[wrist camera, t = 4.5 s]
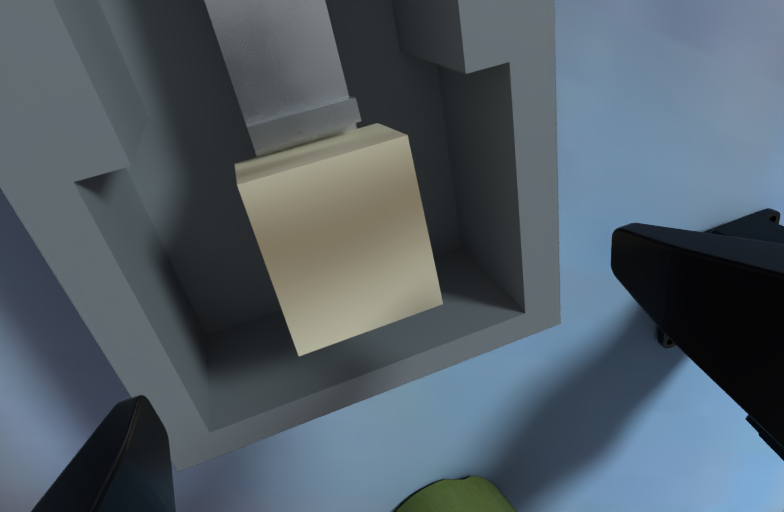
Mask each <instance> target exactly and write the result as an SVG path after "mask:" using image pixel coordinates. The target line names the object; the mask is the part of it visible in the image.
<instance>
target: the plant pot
mask: <svg viewBox="0 0 784 512" xmlns="http://www.w3.org/2000/svg"><path fill="white" fill-rule="evenodd" d="M396 512H517V511H516V509H515V508H514V507H513V506H512V505H511V504H510V502H509V501H508V500H507V499H506V498H505V497H504V495H503V494H502V493H501V492H500V491H499V490H498V488H497V487H496V486H495V485H494V484H493V483H491V482H490V481H488V480H486V479H484V478H482V477H478V476H470V477H468V478H466V479H462V480H452V479H445V480H441V481H438V482H436V483H434V484H431V485H429V486H428V487H426V488H424V489H422V490H420V491H419V492H417V493H416V494H414V495H413V496H412V497H411V498H409V499H408V500H407V501H406V502H405V503H404V504H403V505H402V506H401V507H400V508H399V509H398V510H397V511H396Z"/></svg>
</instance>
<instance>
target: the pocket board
mask: <svg viewBox="0 0 784 512" xmlns="http://www.w3.org/2000/svg"><path fill="white" fill-rule="evenodd" d="M325 2H326V6H327V10H328V14H329V18H330V22H331V26H332V30H333V34H334V38H335V42H336V46H337V50H338V54H339V58H340V62H341V66H342V70H343V74H344V78H345V82H346V86H347V90H348V94H349V96H352V97H355V98H356V101H357V105H358V109H359V113H360V117H361V121H360V122H357V123H356V126H357V129H358V128H362V127H365V126H369V125H372V124H376V123H379V124H381V125H384V126H386V127H389V128H391V129H394V130H396V131H399V132H401V133H403V134H406V135H408V140H409V144H410V149H411V154H412V159H413V163H414V168H415V173H416V178H417V182H418V187H419V192H420V197H421V201H422V206H423V211H424V216H425V220H426V225H427V230H428V235H429V239H430V244H431V249H432V253H433V258H434V263H435V268H436V272H437V277H438V282H439V287H440V291H441V296H442V301H443V304H442V305H440V306H437V307H434V308H431V309H428V310H426V311H423V312H420V313H417V314H415V315H412V316H409V317H406V318H404V319H401V320H398V321H395V322H393V323H390V324H387V325H384V326H382V327H379V328H376V329H373V330H371V331H368V332H365V333H362V334H360V335H357V336H354V337H351V338H349V339H346V340H343V341H340V342H337V343H335V344H332V345H329V346H326V347H324V348H321V349H318V350H315V351H313V352H310V353H307V354H304V355H302V356H298V353H297V350H296V347H295V345H294V342H293V339H292V336H291V333H290V331H289V328H288V325H287V322H286V320H285V317H284V314H283V311H282V308H281V306H280V303H279V300H278V297H277V295H276V292H275V289H274V286H273V284H272V281H271V278H270V275H269V272H268V270H267V267H266V264H265V261H264V259H263V256H262V253H261V250H260V247H259V245H258V242H257V239H256V236H255V234H254V231H253V228H252V225H251V222H250V220H249V217H248V214H247V211H246V209H245V206H244V203H243V200H242V197H241V195H240V192H239V189H238V186H237V180H236V171H235V164H236V163H239V162H243V161H246V160H250V159H253V158H257V156H256V153H255V150H254V147H253V144H252V141H251V138H250V135H249V132H248V129H247V126H246V123H245V120H244V117H243V114H242V111H241V108H240V105H239V102H238V99H237V96H236V93H235V90H234V87H233V84H232V82H231V79H230V76H229V73H228V70H227V67H226V64H225V61H224V58H223V55H222V52H221V49H220V46H219V43H218V40H217V37H216V34H215V31H214V28H213V25H212V22H211V19H210V16H209V13H208V10H207V7H206V4H205V1H204V0H0V188H1V190H2V191H3V193H4V195H5V196H6V198H7V199H8V201H9V203H10V204H11V206H12V207H13V209H14V211H15V212H16V214H17V215H18V217H19V219H20V220H21V222H22V223H23V225H24V227H25V228H26V230H27V231H28V233H29V235H30V236H31V238H32V239H33V241H34V243H35V244H36V246H37V247H38V249H39V251H40V252H41V254H42V255H43V257H44V259H45V260H46V262H47V263H48V265H49V267H50V268H51V270H52V271H53V273H54V275H55V276H56V278H57V279H58V281H59V283H60V284H61V286H62V287H63V289H64V290H65V292H66V294H67V295H68V297H69V298H70V300H71V302H72V303H73V305H74V306H75V308H76V310H77V311H78V313H79V314H80V316H81V318H82V319H83V321H84V322H85V324H86V326H87V327H88V329H89V330H90V332H91V334H92V335H93V337H94V338H95V340H96V342H97V343H98V345H99V346H100V348H101V350H102V351H103V353H104V354H105V356H106V358H107V359H108V361H109V362H110V364H111V366H112V367H113V369H114V370H115V372H116V374H117V375H118V377H119V378H120V380H121V382H122V383H123V385H124V386H125V388H126V390H127V391H128V393H129V394H130V396H131V398H132V397H135V396H138V395H143V396H145V397H147V398H148V400H149V401H150V403H151V404H152V406H153V408H154V409H155V411H156V413H157V415H158V416H159V418H160V420H161V421H162V423H163V425H164V426H165V428H166V431H167V434H168V438H169V446H170V456H171V461H172V463H173V465H174V466H175V468H176V469H177V471H178V472H179V471H182V470H184V469H187V468H189V467H192V466H195V465H197V464H200V463H202V462H205V461H208V460H210V459H213V458H215V457H218V456H220V455H223V454H226V453H228V452H231V451H233V450H236V449H238V448H241V447H244V446H246V445H249V444H251V443H254V442H257V441H259V440H262V439H264V438H267V437H269V436H272V435H275V434H277V433H280V432H282V431H285V430H287V429H290V428H293V427H295V426H298V425H300V424H303V423H306V422H308V421H311V420H313V419H316V418H318V417H321V416H324V415H326V414H329V413H331V412H334V411H336V410H339V409H342V408H344V407H347V406H349V405H352V404H354V403H357V402H360V401H362V400H365V399H367V398H370V397H373V396H375V395H378V394H380V393H383V392H385V391H388V390H391V389H393V388H396V387H398V386H401V385H403V384H406V383H409V382H411V381H414V380H416V379H419V378H422V377H424V376H427V375H429V374H432V373H434V372H437V371H440V370H442V369H445V368H447V367H450V366H452V365H455V364H458V363H460V362H463V361H465V360H468V359H471V358H473V357H476V356H478V355H481V354H483V353H486V352H489V351H491V350H494V349H496V348H499V347H501V346H504V345H507V344H509V343H512V342H514V341H517V340H520V339H522V338H525V337H527V336H530V335H532V334H535V333H538V332H540V331H543V330H545V329H548V328H550V327H553V326H556V325H558V324H561V319H560V268H559V218H558V167H557V117H556V66H555V16H554V0H325Z"/></svg>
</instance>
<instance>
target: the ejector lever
mask: <svg viewBox="0 0 784 512" xmlns="http://www.w3.org/2000/svg"><path fill="white" fill-rule="evenodd" d="M204 1H205V4H206V7H207V10H208V13H209V16H210V19H211V22H212V25H213V28H214V31H215V34H216V37H217V40H218V43H219V46H220V49H221V52H222V55H223V58H224V61H225V64H226V67H227V70H228V73H229V76H230V79H231V82H232V84H233V87H234V90H235V93H236V96H237V99H238V102H239V105H240V108H241V111H242V114H243V117H244V120H245V123H246V126H247V129H248V132H249V135H250V138H251V141H252V144H253V147H254V150H255V153H256V156H257V157H260V156H264V155H267V154H271V153H274V152H278V151H281V150H285V149H288V148H292V147H295V146H299V145H302V144H306V143H309V142H313V141H316V140H320V139H323V138H327V137H330V136H334V135H337V134H341V133H344V132H348V131H351V130H355V129H357V126H356V123H357V122H360V121H361V117H360V113H359V109H358V105H357V101H356V98H355V97H352V96H349V94H348V90H347V86H346V82H345V78H344V74H343V70H342V66H341V62H340V58H339V54H338V50H337V46H336V42H335V38H334V34H333V30H332V26H331V22H330V18H329V14H328V10H327V6H326V2H325V0H204Z"/></svg>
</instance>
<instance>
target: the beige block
mask: <svg viewBox="0 0 784 512" xmlns="http://www.w3.org/2000/svg"><path fill="white" fill-rule="evenodd" d="M235 171H236V180H237V186H238V189H239V192H240V195H241V197H242V200H243V203H244V206H245V209H246V211H247V214H248V217H249V220H250V222H251V225H252V228H253V231H254V234H255V236H256V239H257V242H258V245H259V247H260V250H261V253H262V256H263V259H264V261H265V264H266V267H267V270H268V272H269V275H270V278H271V281H272V284H273V286H274V289H275V292H276V295H277V297H278V300H279V303H280V306H281V308H282V311H283V314H284V317H285V320H286V322H287V325H288V328H289V331H290V333H291V336H292V339H293V342H294V345H295V347H296V350H297V353H298V356H302V355H304V354H307V353H310V352H313V351H315V350H318V349H321V348H324V347H326V346H329V345H332V344H335V343H337V342H340V341H343V340H346V339H349V338H351V337H354V336H357V335H360V334H362V333H365V332H368V331H371V330H373V329H376V328H379V327H382V326H384V325H387V324H390V323H393V322H395V321H398V320H401V319H404V318H406V317H409V316H412V315H415V314H417V313H420V312H423V311H426V310H428V309H431V308H434V307H437V306H440V305H442V304H443V301H442V296H441V291H440V287H439V282H438V277H437V272H436V268H435V263H434V258H433V253H432V249H431V244H430V239H429V235H428V230H427V225H426V220H425V216H424V211H423V206H422V201H421V197H420V192H419V187H418V182H417V178H416V173H415V168H414V163H413V159H412V154H411V149H410V144H409V140H408V135H406V134H403V133H401V132H399V131H396V130H394V129H391V128H389V127H386V126H384V125H381V124H379V123H376V124H372V125H369V126H365V127H362V128H358V129H355V130H351V131H348V132H344V133H341V134H337V135H334V136H330V137H327V138H323V139H320V140H316V141H313V142H309V143H306V144H302V145H299V146H295V147H292V148H288V149H285V150H281V151H278V152H274V153H271V154H267V155H264V156H260V157H257V158H253V159H250V160H246V161H243V162H239V163H236V164H235Z"/></svg>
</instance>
